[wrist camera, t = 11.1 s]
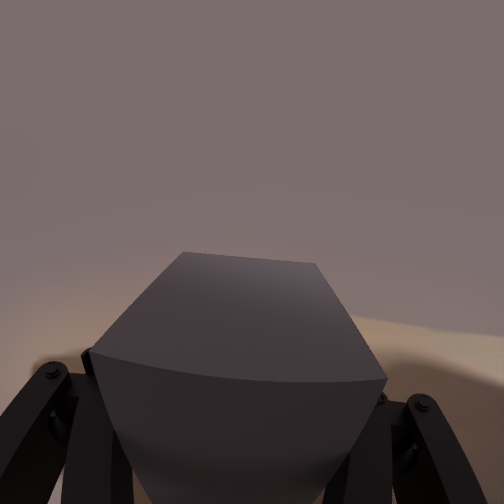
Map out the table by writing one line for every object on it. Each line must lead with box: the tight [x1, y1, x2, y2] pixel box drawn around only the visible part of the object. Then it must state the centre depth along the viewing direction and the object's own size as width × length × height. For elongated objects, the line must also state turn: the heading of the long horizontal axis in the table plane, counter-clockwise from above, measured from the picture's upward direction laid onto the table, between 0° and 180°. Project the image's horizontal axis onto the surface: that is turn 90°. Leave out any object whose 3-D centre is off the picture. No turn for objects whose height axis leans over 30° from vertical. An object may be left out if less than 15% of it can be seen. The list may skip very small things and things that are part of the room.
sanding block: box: [89, 252, 388, 504], centre depth 10 cm, size 6×8×10 cm
